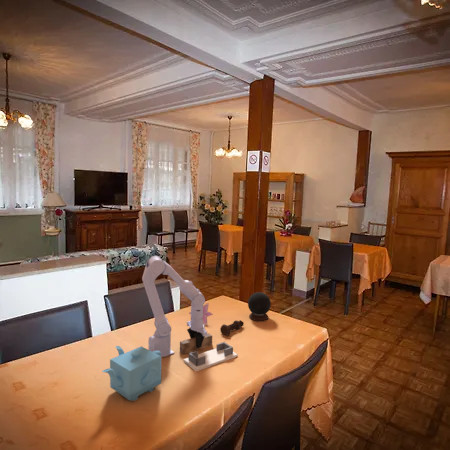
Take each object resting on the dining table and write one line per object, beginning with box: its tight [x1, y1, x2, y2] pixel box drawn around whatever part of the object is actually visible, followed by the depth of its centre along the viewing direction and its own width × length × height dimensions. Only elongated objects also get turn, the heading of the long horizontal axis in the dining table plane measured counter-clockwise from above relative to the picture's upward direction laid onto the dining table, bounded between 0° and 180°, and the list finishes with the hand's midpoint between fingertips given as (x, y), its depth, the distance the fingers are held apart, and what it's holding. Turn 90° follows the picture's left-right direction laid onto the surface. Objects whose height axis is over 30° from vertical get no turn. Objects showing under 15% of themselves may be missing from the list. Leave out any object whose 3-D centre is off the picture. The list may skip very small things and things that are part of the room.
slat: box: [179, 332, 213, 355], centre depth 161 cm, size 16×3×5 cm, turn 127°
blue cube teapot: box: [102, 345, 162, 402], centre depth 126 cm, size 19×19×15 cm
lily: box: [188, 302, 213, 326], centre depth 192 cm, size 12×12×10 cm
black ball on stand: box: [247, 291, 272, 322], centre depth 199 cm, size 13×13×15 cm
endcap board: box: [183, 341, 239, 372], centre depth 151 cm, size 22×10×4 cm, turn 127°
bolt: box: [220, 320, 245, 337], centre depth 181 cm, size 6×5×15 cm
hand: (196, 345), depth 161 cm, fingers open, 4 cm apart
